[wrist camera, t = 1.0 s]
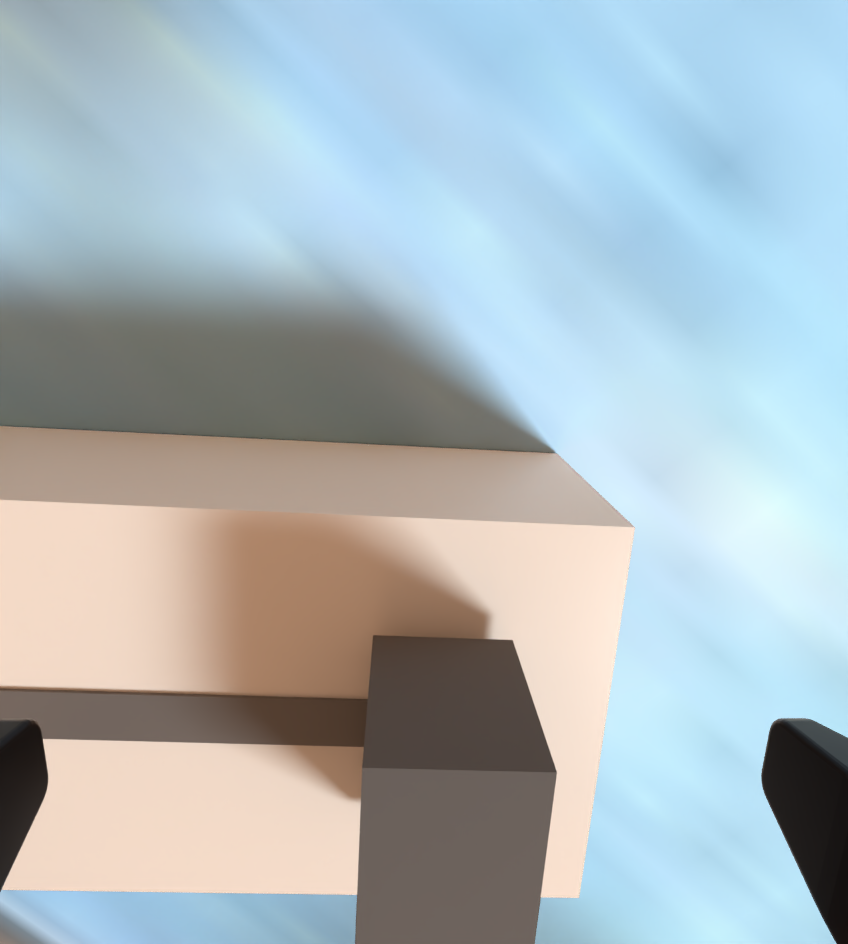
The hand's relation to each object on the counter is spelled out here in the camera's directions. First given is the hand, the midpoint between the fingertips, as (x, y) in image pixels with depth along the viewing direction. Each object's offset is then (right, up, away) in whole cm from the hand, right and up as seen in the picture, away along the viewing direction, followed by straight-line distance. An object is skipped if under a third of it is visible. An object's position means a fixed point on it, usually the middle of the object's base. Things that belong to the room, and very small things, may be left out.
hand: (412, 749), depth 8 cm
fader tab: (0, -2, +7) cm, 7 cm away
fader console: (-7, 0, +13) cm, 15 cm away
